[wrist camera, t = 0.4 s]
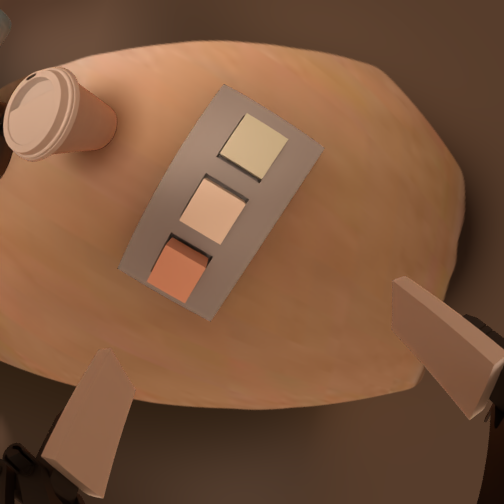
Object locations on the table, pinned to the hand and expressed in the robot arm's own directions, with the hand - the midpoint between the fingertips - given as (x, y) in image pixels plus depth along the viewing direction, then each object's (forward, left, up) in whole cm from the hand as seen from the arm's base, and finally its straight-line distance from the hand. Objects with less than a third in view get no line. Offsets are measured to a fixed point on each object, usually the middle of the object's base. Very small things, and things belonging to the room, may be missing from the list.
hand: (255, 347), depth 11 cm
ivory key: (-4, +1, -22) cm, 22 cm away
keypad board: (-4, +1, -25) cm, 25 cm away
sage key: (-4, +9, -22) cm, 24 cm away
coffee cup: (-24, +2, -25) cm, 35 cm away
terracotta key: (-4, -7, -22) cm, 23 cm away
